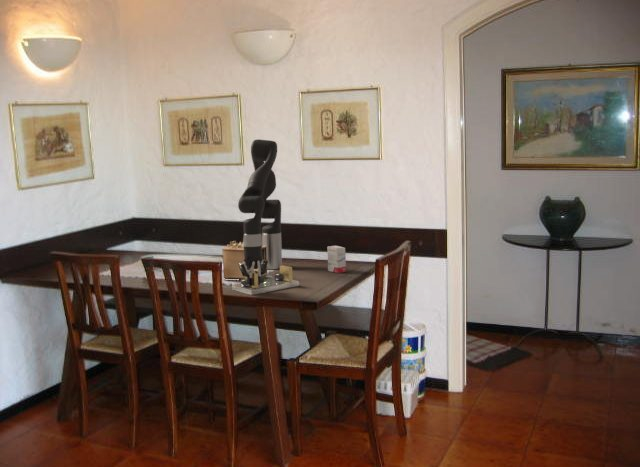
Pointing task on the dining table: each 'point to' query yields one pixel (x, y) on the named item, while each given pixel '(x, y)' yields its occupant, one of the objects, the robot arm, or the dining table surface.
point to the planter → (238, 260)
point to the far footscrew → (284, 273)
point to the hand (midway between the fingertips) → (253, 285)
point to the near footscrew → (254, 280)
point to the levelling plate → (266, 286)
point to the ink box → (336, 259)
